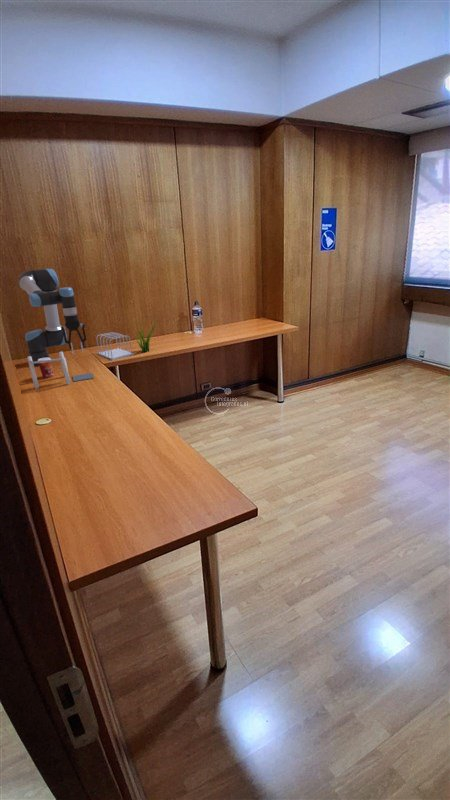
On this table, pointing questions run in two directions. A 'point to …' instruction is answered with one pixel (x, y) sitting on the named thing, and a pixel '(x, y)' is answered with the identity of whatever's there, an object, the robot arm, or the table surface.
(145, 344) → the decorative plant
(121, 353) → the file sorter
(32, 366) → the white hurdle
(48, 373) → the coffee cup
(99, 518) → the table surface
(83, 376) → the mat
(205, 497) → the table surface
